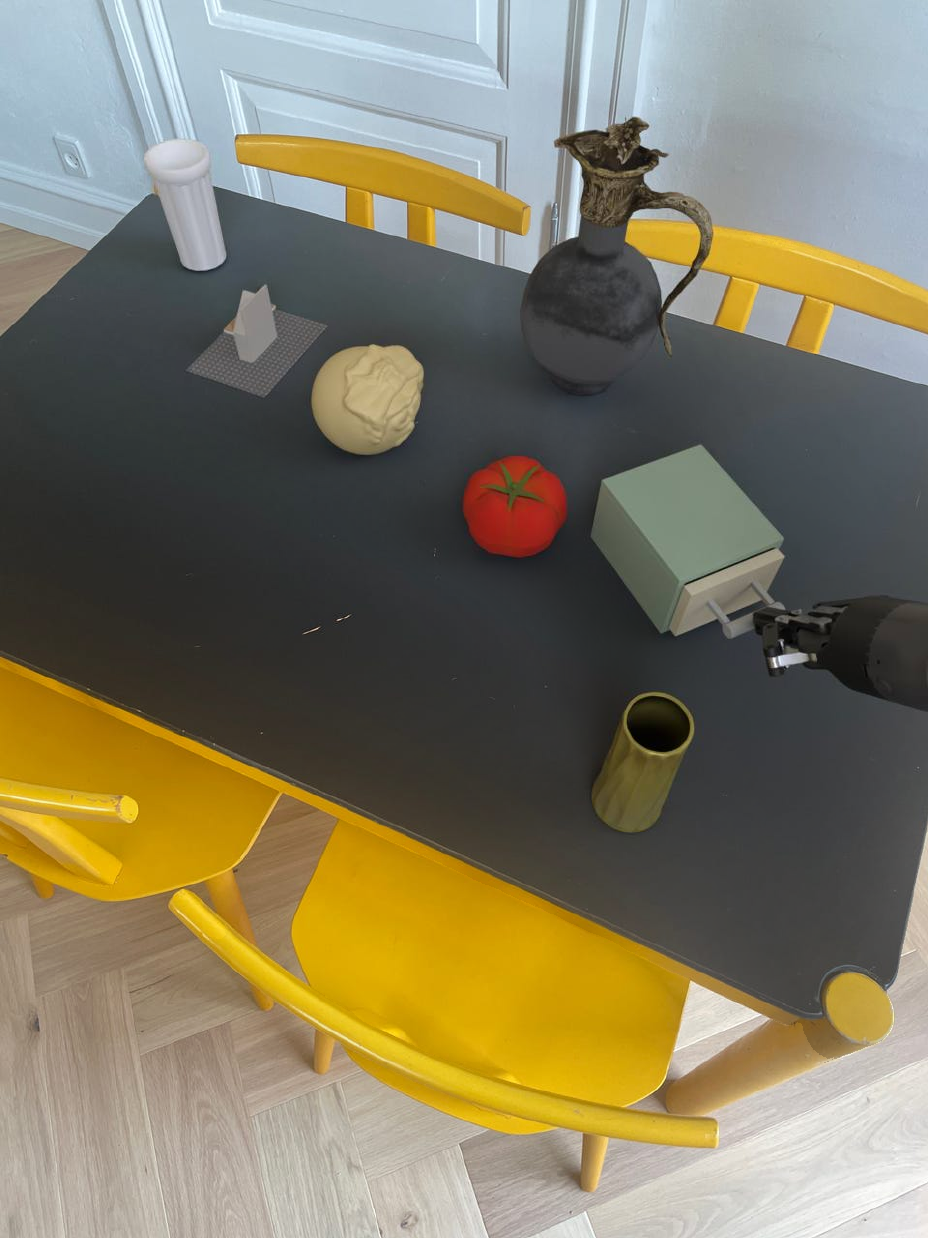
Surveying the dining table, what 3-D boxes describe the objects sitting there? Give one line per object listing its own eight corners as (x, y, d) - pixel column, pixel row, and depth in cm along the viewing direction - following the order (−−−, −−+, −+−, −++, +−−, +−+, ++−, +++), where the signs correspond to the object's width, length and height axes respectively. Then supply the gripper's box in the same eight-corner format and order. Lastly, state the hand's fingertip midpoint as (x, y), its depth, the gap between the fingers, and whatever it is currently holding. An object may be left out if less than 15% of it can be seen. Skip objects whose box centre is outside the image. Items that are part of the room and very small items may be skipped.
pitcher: (537, 333, 109) (562, 77, 85) (681, 375, 105) (752, 120, 80) (503, 384, 104) (519, 127, 79) (654, 432, 99) (721, 176, 75)
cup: (193, 284, 114) (163, 178, 103) (163, 257, 118) (130, 151, 106) (245, 262, 117) (221, 156, 106) (214, 235, 121) (188, 131, 109)
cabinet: (757, 593, 86) (784, 538, 79) (660, 633, 84) (679, 581, 76) (682, 501, 93) (701, 443, 86) (590, 536, 90) (601, 479, 83)
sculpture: (390, 483, 95) (384, 408, 86) (299, 447, 98) (283, 370, 89) (439, 419, 100) (438, 342, 91) (351, 386, 103) (342, 309, 94)
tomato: (511, 478, 95) (515, 427, 89) (583, 534, 91) (593, 485, 84) (439, 527, 91) (438, 477, 85) (511, 589, 86) (515, 541, 80)
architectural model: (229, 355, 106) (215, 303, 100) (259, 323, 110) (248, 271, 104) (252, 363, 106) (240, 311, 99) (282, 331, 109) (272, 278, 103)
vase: (585, 824, 73) (610, 750, 61) (596, 759, 76) (622, 678, 64) (657, 841, 72) (697, 770, 60) (665, 775, 75) (704, 695, 63)
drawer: (789, 631, 83) (814, 589, 77) (700, 670, 80) (718, 630, 75) (692, 513, 91) (707, 467, 86) (608, 545, 89) (618, 500, 83)
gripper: (975, 573, 62) (810, 556, 79) (830, 638, 59) (689, 606, 75) (991, 668, 64) (826, 632, 80) (851, 736, 61) (709, 684, 77)
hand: (760, 620), depth 78 cm, fingers closed
